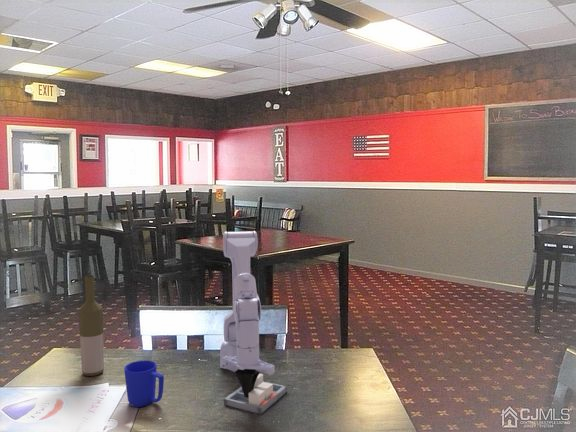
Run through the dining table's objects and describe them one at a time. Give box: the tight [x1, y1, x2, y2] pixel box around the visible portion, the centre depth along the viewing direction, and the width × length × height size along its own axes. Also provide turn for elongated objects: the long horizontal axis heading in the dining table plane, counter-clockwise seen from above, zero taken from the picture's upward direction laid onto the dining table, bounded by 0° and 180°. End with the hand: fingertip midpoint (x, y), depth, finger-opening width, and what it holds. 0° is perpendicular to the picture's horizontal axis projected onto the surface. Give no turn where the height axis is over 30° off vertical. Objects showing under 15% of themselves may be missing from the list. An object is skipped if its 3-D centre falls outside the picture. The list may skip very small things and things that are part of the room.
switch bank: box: [223, 380, 288, 414], centre depth 132 cm, size 11×14×3 cm
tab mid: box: [257, 381, 273, 399], centre depth 131 cm, size 3×3×4 cm
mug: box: [123, 360, 165, 408], centre depth 131 cm, size 8×12×10 cm
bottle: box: [78, 274, 105, 377], centre depth 150 cm, size 7×7×30 cm
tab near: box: [249, 389, 265, 406], centre depth 127 cm, size 3×3×4 cm
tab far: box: [254, 373, 264, 388], centre depth 137 cm, size 3×3×4 cm
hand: (248, 396), depth 128 cm, fingers closed
